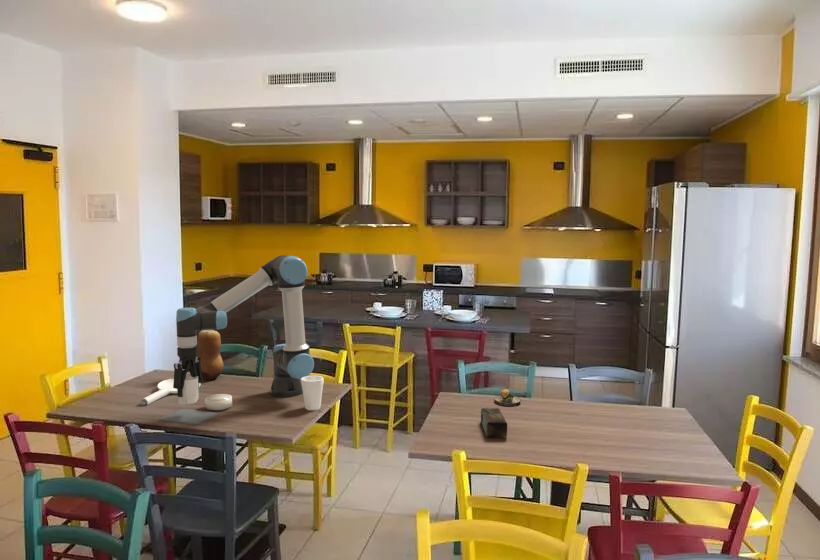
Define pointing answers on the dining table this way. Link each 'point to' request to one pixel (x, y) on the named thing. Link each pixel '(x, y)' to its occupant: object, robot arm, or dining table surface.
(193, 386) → the white cup
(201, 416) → the mat
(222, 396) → the bowl
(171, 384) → the frying pan
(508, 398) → the plate of food
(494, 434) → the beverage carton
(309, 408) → the foam cup
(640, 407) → the dining table surface
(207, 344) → the butternut squash
